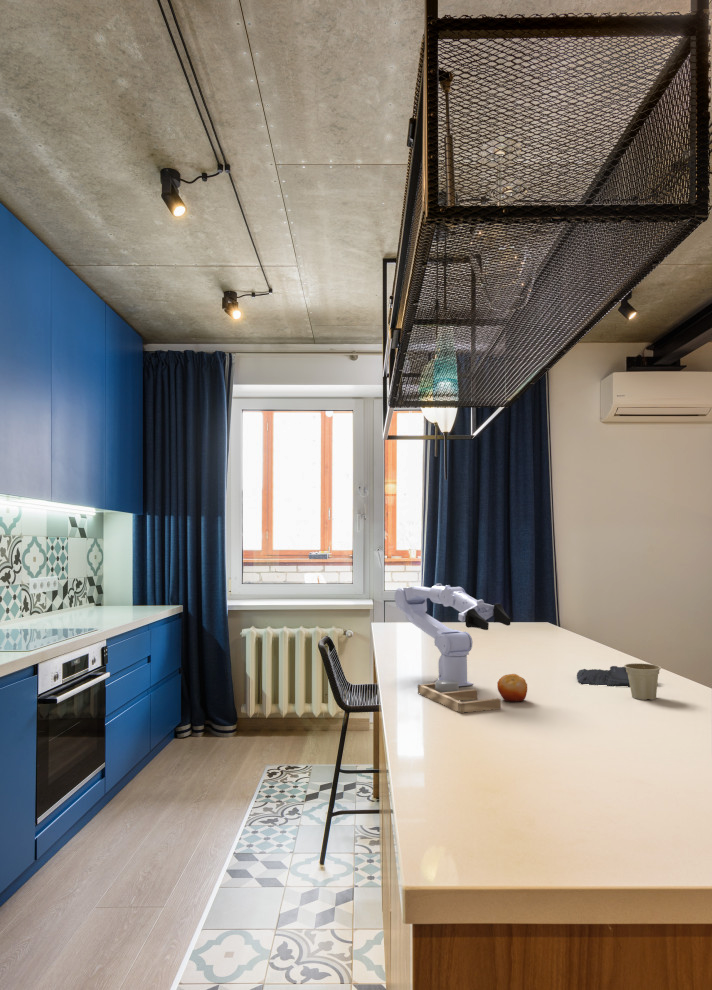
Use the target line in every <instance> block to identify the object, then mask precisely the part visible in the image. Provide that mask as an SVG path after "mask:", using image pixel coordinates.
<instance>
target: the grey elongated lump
mask: <svg viewBox="0 0 712 990" xmlns="http://www.w3.org/2000/svg"><path fill="white" fill-rule="evenodd" d="M576 680H577V683H579V684H580V683H581V684H580V685H583V684H589V686H598V685H607V686H606V687H614V686H628V687H627V688H630V683H629V678H628V673H627V672H626V668H625V667H624V666H617V665H612V666H609V669H608V670H607V669H606V670H604V669H601V668H599V669H598V668H597V669H596V668H594V669H593V668H592V669H585V668H583V669H579V670H578V671H577V672H576Z"/></svg>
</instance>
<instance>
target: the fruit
mask: <svg viewBox="0 0 712 990" xmlns="http://www.w3.org/2000/svg"><path fill="white" fill-rule="evenodd" d="M497 691H498V693H499V695H500V697H502V699H503V701H505V702H507V701H509V702H508V703H510V702H511V703H512V702H515V701H516V702H523V701H524V700H525V699H526V698H527V694H528V683H527V682H526V679H525V678H524V677H523V676H520V675H519V674H517V673H511V674H505V675H503V676H501V677H500V678H499V680H498V681H497Z"/></svg>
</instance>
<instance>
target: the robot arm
mask: <svg viewBox="0 0 712 990" xmlns="http://www.w3.org/2000/svg"><path fill="white" fill-rule="evenodd" d="M427 599H429V600H430V601H431V602H432V603H433V604H439V605H440V604H441V605H442V606H443V607H452V608H453V609H454V610H456V611H458V612H459V613H458V619H457V621H460V622H462V623H464V622H465V626H466V628H468V629H469V628H470V629H471V628H474V629H480V630H483V631H489V625H490V624H489V621H487V620H488V619H490V618H492V617H493V623H500V624H502V625H505V626H508V627H509V626H511V621H512V620H511V617H510V616H509V615H508V614H507V613H506V611H505V610H504V607H503V604H502V603H498V602H497V603H494V604H493V605H492V604H489V603H485V601H484V600H483V599H476V598H474V597H472V596H470V595H469V594H468V593H467V592H466V591H465V589H464V588H463V587H461V586H451V585H450V584H448V585H447V584H446V585H443V584H442V583H436V584H435V585H433V586H431V587H428V586H419V585H417V586H409V587H408V586H407V587H398V588H397V589H396V590H395V592H394V602H395V605H396V608H398V609H399V610H400V611H402V612H403V613H404V615H405V616H406V617H407V619H408V620H409V622H410V623H412V625H414V626H415V627H417V628H419V629H420V630H421V631H423V632H424V633H425V634H427V635H428V636H430V637H431V638H432V639H434V640H433V641H434V642H433V643H434V646H435V647H436V648H437V649H438V651H439V652H440V654H441V655H440V656H439V658H438V662H437V663H438V679H436V680H435V681H438V680H454V681H457V682H458V683H459V687H467V686H468V687H469V686H473V685H474V683H473V682H470V681H468V655H470V652H471V651H472V648H473V638H472V636H471V634H470V633H469V632H467V631H461V630H459V629H454V628H450V627H448V626H447V625H445V624H443V623H442V622H441V621H439V620H438V619H436V618H434V617H433V616H431V615H430V614H428V613H426V612H427V611H428V603H427V601H428V600H427Z"/></svg>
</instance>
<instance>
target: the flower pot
mask: <svg viewBox="0 0 712 990" xmlns="http://www.w3.org/2000/svg"><path fill="white" fill-rule="evenodd" d="M623 667H625V668H626V672H627V673H628V678H629V683H630V687H629V689H630V694H631V697H632V698H634V699H636V700H642V701H647V700H651V701H654V700H656V699H657V691H658V680H659V674H660V670H661V669H662V667H661V666H659V665H656V664H652V663H651V664H650V663H643V662H642V663H641V662H640V663H637V662H636V663H626V664H624V665H623Z"/></svg>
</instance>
